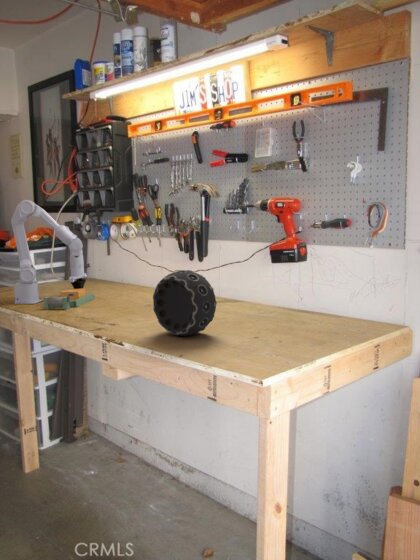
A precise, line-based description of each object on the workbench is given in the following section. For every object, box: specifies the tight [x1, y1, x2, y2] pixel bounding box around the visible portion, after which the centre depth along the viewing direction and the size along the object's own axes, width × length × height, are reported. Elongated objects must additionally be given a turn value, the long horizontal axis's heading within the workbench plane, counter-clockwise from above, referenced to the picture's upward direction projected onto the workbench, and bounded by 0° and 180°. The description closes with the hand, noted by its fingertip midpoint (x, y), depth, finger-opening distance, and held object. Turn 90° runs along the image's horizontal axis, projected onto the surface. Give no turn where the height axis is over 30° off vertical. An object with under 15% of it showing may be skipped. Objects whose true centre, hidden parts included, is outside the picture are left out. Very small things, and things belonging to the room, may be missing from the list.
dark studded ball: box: [152, 269, 218, 337], centre depth 157 cm, size 11×20×20 cm, turn 51°
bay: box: [43, 292, 95, 311], centre depth 215 cm, size 14×24×6 cm, turn 171°
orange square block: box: [59, 288, 86, 301], centre depth 221 cm, size 8×8×5 cm
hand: (79, 295), depth 227 cm, fingers closed
